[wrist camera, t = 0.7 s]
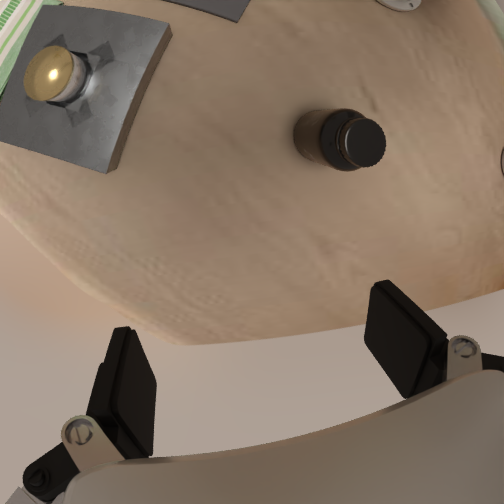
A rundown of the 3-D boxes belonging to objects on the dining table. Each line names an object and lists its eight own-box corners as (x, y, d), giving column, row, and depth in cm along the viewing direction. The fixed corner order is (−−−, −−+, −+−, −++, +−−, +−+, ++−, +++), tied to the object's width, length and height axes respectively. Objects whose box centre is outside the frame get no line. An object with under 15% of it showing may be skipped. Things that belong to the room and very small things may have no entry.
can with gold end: (68, 57, 25) (37, 43, 17) (105, 64, 26) (80, 49, 19) (51, 99, 26) (16, 96, 19) (87, 108, 28) (57, 105, 21)
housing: (56, 14, 22) (42, 4, 18) (172, 35, 27) (169, 23, 23) (9, 136, 27) (-9, 138, 23) (116, 168, 33) (105, 174, 29)
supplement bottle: (295, 164, 37) (335, 181, 26) (289, 112, 34) (329, 106, 23) (343, 159, 37) (395, 175, 26) (339, 109, 34) (392, 107, 24)
